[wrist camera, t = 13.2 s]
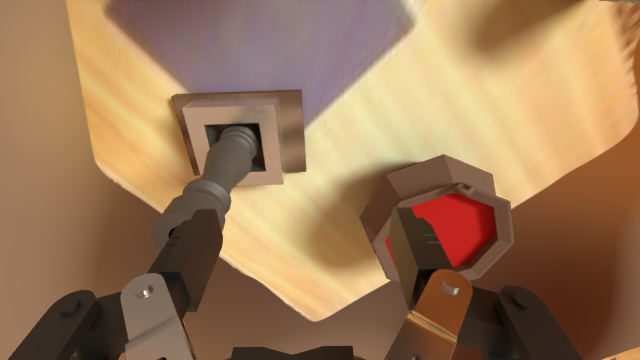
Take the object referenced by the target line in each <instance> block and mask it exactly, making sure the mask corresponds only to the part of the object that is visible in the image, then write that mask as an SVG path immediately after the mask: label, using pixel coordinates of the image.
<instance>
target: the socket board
mask: <svg viewBox="0 0 640 360" xmlns="http://www.w3.org/2000/svg"><path fill="white" fill-rule="evenodd" d="M263 96H279V105H280V115H281V124H282V134H283V144H284V153H285V163H286V172H306V155H305V139H304V123H303V108H302V92H301V90H276V91H248V92H220V93H192V94H175V95H173V96H172V100H173V103H174V107H175V110H176V113H177V117H178V120H179V124H180V127H181V131H182V134H183V138H184V141H185V145H186V148H187V151H188V155H189V158H190V162H191V165H192V169H193V172H194V175H200V171H199V168H198V164H197V161H196V157H195V153H194V150H193V146H192V143H191V139H190V135H189V132H188V128H187V125H186V121H185V117H184V114H183V110H182V108H183V107H184V106H186V105H187V104H189V103H190V102H191V101H193V100H194V99H207V98H235V97H263ZM255 124H257V125H258V127H259V128H260V125H259V123H255ZM228 125H229V124H217V128H218V132H219V137H220V136H221V134H222V132H223V131H224V130H225V128H226V127H227V126H228ZM254 158H264V153H263V146H262V144H261V147H260V149H259V151H258V153H257V155H256V156H255V157H254Z"/></svg>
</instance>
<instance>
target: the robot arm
mask: <svg viewBox="0 0 640 360" xmlns="http://www.w3.org/2000/svg"><path fill="white" fill-rule="evenodd" d="M222 244H223V235H222V230H221V227H220V223H219V219H218V215H217V212H216V210H215V209H197V210H196V211H195V213H194V214H193V216H192V218H191V219H190V220H185V221H184V222H182V223H181V224H180V225H179V226H178V227H176V228H175V230H174V231H173V233H172V235H171V236H170V239H168V241H167V242H166V244H165V247H163V249H162V251H161V252H160V254H159V255H158V257H157V258H156V260H155V262H154V263H153V265H152V267H151V268H150V270H149V271H148V273H147V274H144V275H142V276H139V277H137V278H135V279H134V280H132V281H131V282H129V283H128V284H127V286H125V288H124V289H123V291H122V292H118V293H115V294H111V295H107V296H104V297H100V298H96V296H95V295H94V294H93V292H91V291H89V290H80V291H76V292H73V293H70V294H68V295H66V296H64V297H62V298H61V299H59V300H58V301H57V302H55V303H54V304H53V305H52V306H51V307H50V308H49V309H48V310H47V312H46V313H45V314H44V315H43V317H42V318H41V319H40V320H39V322H38V323H37V324H36V325H35V327H34V328H33V329H32V330H31V331H30V333H29V334H28V335H27V336H26V338H25V339H24V340H23V341H22V343H21V344H20V345H19V346H18V348H17V349H16V350H15V351H14V352H13V354H12V355H11V356H10V357H9V359H8V360H70V359H71V360H118V359H119V357H120V355H121V353H124V352H126V357H127V360H198V358H197V356H196V353H195V351H194V348H193V345H192V343H191V340H190V338H189V335H188V332H187V330H186V327H185V325H184V322H183V318H184V315H185V313H186V312H196V311H197V309H198V307H199V304H200V302H201V299H202V297H203V294H204V291H205V289H206V286H207V284H208V281H209V279H210V276H211V274H212V271H213V268H214V265H215V263H216V261H217V258H218V256H219V253H220V251H221V248H222ZM389 244H390V248H391V251H392V255H393V258H394V262H395V265H396V268H397V272H398V275H399V279H400V282H401V286H402V289H403V293H404V296H405V299H406V303H407V306H408V309H409V310H413V312H412V313H409V314H408V316H407V318H406V319H405V321H404V323H403V325H402V327H401V329H400V331H399V333H398V334H397V336H396V338H395V340H394V342H393V344H392V346H391V348H390V350H389V352H388V353H387V355H386V357H385V359H384V360H450V359H451V356H452V354H453V351H454V348H455V345H456V343H457V344H461V345H464V346H467V347H470V348H474V349H477V350H479V351H480V353H481V356H482V358H483V360H582V358H581V357H580V355H579V354H578V353H577V351H576V349H575V348H574V347H573V345H572V344H571V342H570V341H569V339H568V338H567V336H566V335H565V333H564V332H563V330H562V329H561V327H560V326H559V324H558V323H557V322H556V320H555V318H554V317H553V315H552V314H551V313H550V311H549V310H548V308H547V307H546V305H545V304H544V303H543V301H542V300H541V299H540V298H539V297H538V296H537V295H536V294H534V293H533V292H531V291H529V290H527V289H525V288H523V287H520V286H514V285H508V286H505V287H503V288H502V289H501V290H500V291H499V293H496V292H492V291H488V290H484V289H480V288H477V287H474V286H472V285H471V284H470V282H469V281H468V280H467V279H466V278H465V277H464V276H463V275H461V274H460V273H458V272H456V271H455V270H454V268H453V266H452V264H451V262H450V260H449V259H448V257H447V255H446V253H445V251H444V249H443V247H442V245H441V243H440V241H439V239H438V237H437V236H436V233H435V231H434V229H433V227H432V225H431V224H430V223H429V222H428V221H426V220H425V219H424V218H416V216H415V214H414V212H413V209H412V208H411V207H410V206H406V207H393V210H392V216H391V222H390V229H389ZM72 356H73V357H72ZM71 357H72V358H71ZM225 360H365V359H363V358H361V357H358V356H354V355H353V347H352V346H322V347H319V348H316V349H312V350H308V351H305V352H301V353H298V354H294V355H291V354H287V353H283V352H279V351H276V350H272V349H268V348H265V347H234V348H233V352H232V356H231V358H228V359H225Z"/></svg>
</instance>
